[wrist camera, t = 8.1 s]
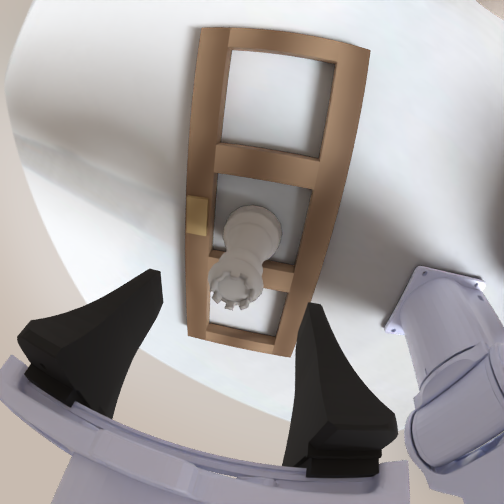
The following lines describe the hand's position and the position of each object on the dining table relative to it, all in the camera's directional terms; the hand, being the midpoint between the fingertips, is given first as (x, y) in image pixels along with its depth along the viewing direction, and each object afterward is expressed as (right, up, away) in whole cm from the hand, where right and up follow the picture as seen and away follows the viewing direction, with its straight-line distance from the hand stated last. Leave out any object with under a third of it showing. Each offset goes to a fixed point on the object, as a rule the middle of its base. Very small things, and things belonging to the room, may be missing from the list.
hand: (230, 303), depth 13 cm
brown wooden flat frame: (+2, +5, +8) cm, 10 cm away
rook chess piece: (+1, +4, +9) cm, 10 cm away
